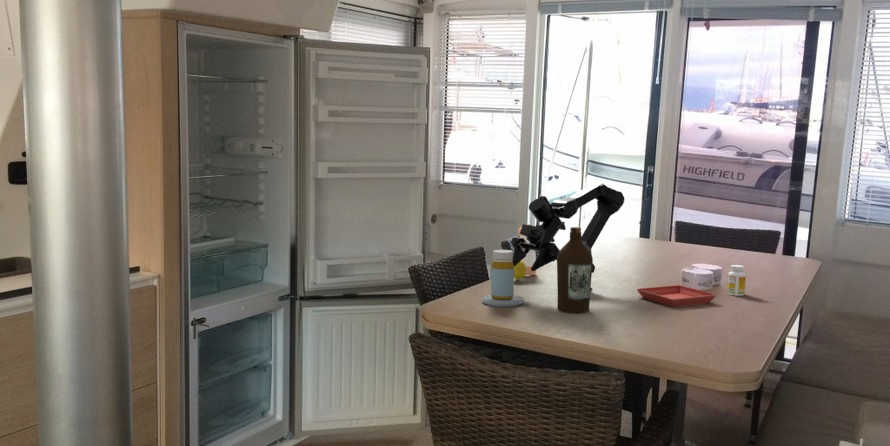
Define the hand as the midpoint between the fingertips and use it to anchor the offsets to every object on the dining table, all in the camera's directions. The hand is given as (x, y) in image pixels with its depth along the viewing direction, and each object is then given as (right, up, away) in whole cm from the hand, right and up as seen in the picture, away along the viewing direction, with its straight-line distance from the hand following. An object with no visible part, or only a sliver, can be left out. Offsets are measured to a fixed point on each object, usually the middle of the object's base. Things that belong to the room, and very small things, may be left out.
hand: (521, 268), depth 241 cm
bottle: (-6, -9, -3) cm, 12 cm away
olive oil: (+14, -12, -13) cm, 23 cm away
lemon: (+2, -7, +32) cm, 33 cm away
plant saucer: (+50, -11, +2) cm, 51 cm away
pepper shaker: (+6, -5, +45) cm, 46 cm away
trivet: (-6, -10, -4) cm, 13 cm away
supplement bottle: (+73, -10, +12) cm, 75 cm away
